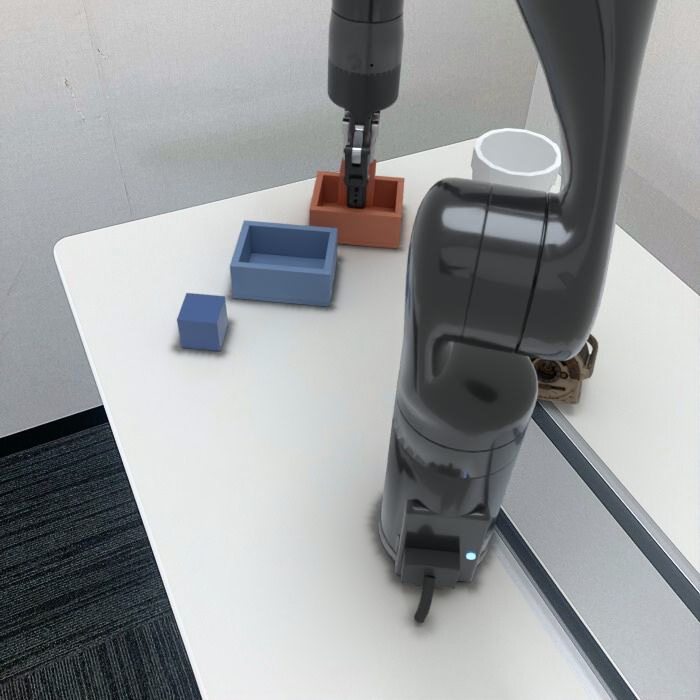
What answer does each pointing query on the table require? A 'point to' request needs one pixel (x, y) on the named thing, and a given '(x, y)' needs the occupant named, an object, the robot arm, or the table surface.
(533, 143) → the foam cup
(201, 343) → the slate block
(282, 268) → the blue bin
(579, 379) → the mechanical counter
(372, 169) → the terracotta block
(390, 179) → the terracotta bin
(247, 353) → the table surface
